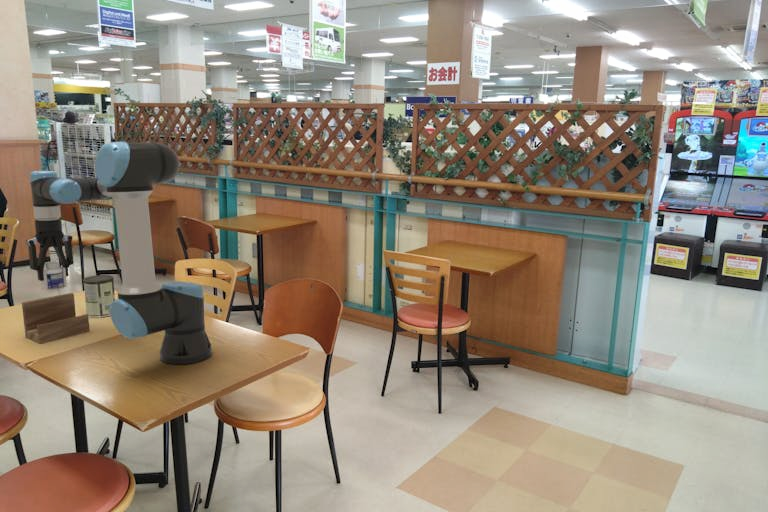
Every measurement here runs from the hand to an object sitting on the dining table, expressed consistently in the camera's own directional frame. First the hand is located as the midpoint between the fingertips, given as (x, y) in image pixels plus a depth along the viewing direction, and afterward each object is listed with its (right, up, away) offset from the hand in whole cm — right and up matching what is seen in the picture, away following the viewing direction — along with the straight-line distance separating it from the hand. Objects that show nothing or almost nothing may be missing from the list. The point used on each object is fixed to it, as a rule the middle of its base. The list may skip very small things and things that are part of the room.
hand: (54, 287), depth 190 cm
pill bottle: (0, -1, 0) cm, 1 cm away
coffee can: (+2, -12, +27) cm, 29 cm away
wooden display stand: (-1, -16, +4) cm, 16 cm away
